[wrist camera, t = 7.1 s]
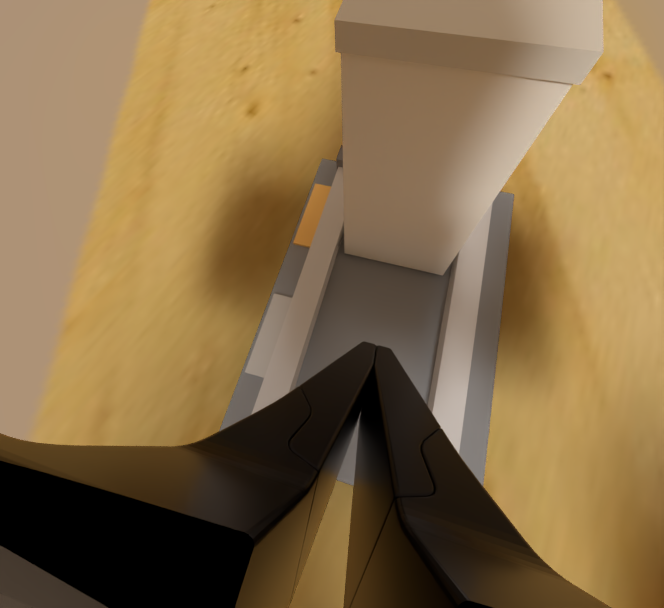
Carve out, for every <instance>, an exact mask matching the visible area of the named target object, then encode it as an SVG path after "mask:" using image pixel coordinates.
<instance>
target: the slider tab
mask: <svg viewBox="0 0 664 608" xmlns="http://www.w3.org/2000/svg"><path fill="white" fill-rule="evenodd" d="M335 50H336V52H339V53H341V80H342V138H343V195H344V253H346V254H350V255H354V256H359V257H363V258H368V259H372V260H376V261H381V262H385V263H390V264H394V265H398V266H403V267H407V268H412V269H416V270H420V271H425V272H429V273H434V274H438V275H442V276H443V274H444V273H445V271H446V270H447V268H448V267H449V265H450V264H451V262H452V261H453V259H454V258H455V257H456V255H457V254H458V252H459V251H460V249H461V248H462V246H463V245H464V243H465V242H466V240H467V239H468V237H469V236H470V234H471V233H472V232H473V230H474V229H475V227H476V226H477V224H478V223H479V221H480V220H481V218H482V217H483V215H484V214H485V212H486V211H487V210H488V208H489V207H490V205H491V204H492V202H493V201H494V199H495V198H496V196H497V195H498V193H499V192H500V190H501V189H502V187H503V186H504V185H505V183H506V182H507V180H508V179H509V177H510V176H511V174H512V173H513V171H514V170H515V168H516V167H517V165H518V164H519V163H520V161H521V160H522V158H523V157H524V155H525V154H526V152H527V151H528V149H529V148H530V146H531V145H532V143H533V142H534V140H535V139H536V138H537V136H538V135H539V133H540V132H541V130H542V129H543V127H544V126H545V124H546V123H547V121H548V120H549V118H550V117H551V116H552V114H553V113H554V111H555V110H556V108H557V107H558V105H559V104H560V102H561V101H562V99H563V98H564V96H565V95H566V93H567V92H568V91H569V89H570V88H571V86H572V85H573V84H577V85H580V84H581V83H582V82H583V80H584V79H585V77H586V76H587V75H588V73H589V72H590V70H591V69H592V67H593V66H594V65H595V63H596V62H597V60H598V59H599V57H600V56H601V55H602V53H603V0H343V2H342V4H341V7H340V9H339V11H338V13H337V16H336V18H335Z"/></svg>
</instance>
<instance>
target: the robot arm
mask: <svg viewBox="0 0 664 608" xmlns="http://www.w3.org/2000/svg"><path fill="white" fill-rule="evenodd" d="M360 412H361V413H360ZM359 416H360V418H359ZM358 419H359V427H358V439H357V451H356V463H355V475H354V487H353V499H352V511H351V523H350V535H349V547H348V559H347V571H346V583H345V595H344V607H343V608H611V607H609V606H608V605H606V604H605V603H603V602H601V601H600V600H598V599H596V598H595V597H593V596H591V595H590V594H588V593H586V592H585V591H583V590H582V589H580V588H578V587H577V586H575V585H573V584H572V583H570V582H569V581H567V580H566V579H564V578H563V577H562V576H561V575H559V574H558V573H557V572H555V571H554V570H553V569H552V568H551V567H550V566H549V565H547V564H546V563H545V562H544V561H543V560H542V559H541V558H540V557H539V556H538V555H537V554H536V553H535V551H534V550H533V549H532V548H531V547H530V546H529V544H528V543H527V542H526V541H525V540H524V538H523V537H522V536H521V534H520V533H519V532H518V531H517V529H516V528H515V527H514V526H513V524H512V523H511V522H510V520H509V519H508V518H507V517H506V515H505V514H504V513H503V511H502V510H501V509H500V508H499V506H498V505H497V504H496V502H495V501H494V500H493V499H492V497H491V496H490V495H489V493H488V492H487V491H486V490H485V488H484V487H483V486H482V484H481V483H480V482H479V481H478V479H477V478H476V477H475V475H474V474H473V473H472V471H471V470H470V469H469V467H468V466H467V465H466V463H465V462H464V461H463V459H462V458H461V456H460V455H459V453H458V452H457V450H456V449H455V447H454V446H453V444H452V443H451V442H450V440H449V438H448V437H447V435H446V434H445V432H444V431H443V429H441V426H440V425H439V423H438V421H437V420H436V418H435V417H434V415H433V414H432V412H431V410H430V409H429V407H428V406H427V404H426V403H425V401H424V400H423V398H422V396H421V395H420V393H419V392H418V390H417V389H416V387H415V385H414V384H413V382H412V381H411V379H410V378H409V376H408V374H407V373H406V371H405V370H404V368H403V367H402V365H401V363H400V362H399V360H398V359H397V357H396V356H395V354H394V352H393V351H392V349H390V348H388V347H384V346H380V345H378V346H377V347H376V345H375V344H373V343H369V342H365V341H363V342H361V343H360V344H358V345H357V346H355V347H354V348H352V349H351V350H350V351H348V352H347V353H345V354H344V355H342V356H341V357H340V358H338V359H337V360H335V361H334V362H332V363H331V364H329V365H328V366H327V367H325V368H324V369H322V370H321V371H319V372H318V373H317V374H315V375H314V376H312V377H311V378H309V379H308V380H307V381H305V382H304V383H302V384H301V385H300V386H298V387H296V388H295V389H293V390H292V391H291V392H289V393H288V394H286V395H285V396H283V397H281V398H280V399H278V400H277V401H275V402H273V403H272V404H270V405H268V406H266V407H265V408H263V409H261V410H259V411H257V412H255V413H254V414H252V415H250V416H248V417H246V418H244V419H242V420H240V421H238V422H236V423H234V424H232V425H230V426H229V427H227V428H225V429H223V430H221V431H219V432H217V433H215V434H213V435H211V436H209V437H207V438H205V439H203V440H200V441H197V442H195V443H191V444H188V445H183V446H172V447H167V446H74V445H55V444H44V443H35V442H30V441H24V440H20V439H16V438H12V437H9V436H6V435H4V434H1V433H0V608H289V605H290V603H291V601H292V598H293V595H294V593H295V590H296V587H297V585H298V582H299V579H300V576H301V574H302V571H303V568H304V566H305V563H306V560H307V558H308V555H309V552H310V549H311V547H312V544H313V541H314V539H315V536H316V533H317V531H318V528H319V525H320V522H321V520H322V517H323V514H324V512H325V509H326V506H327V504H328V501H329V498H330V496H331V493H332V490H333V487H334V485H335V482H336V479H337V477H338V474H339V471H340V469H341V466H342V463H343V460H344V458H345V455H346V452H347V450H348V447H349V444H350V442H351V439H352V436H353V434H354V431H355V428H356V425H357V422H358Z"/></svg>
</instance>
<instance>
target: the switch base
mask: <svg viewBox="0 0 664 608" xmlns="http://www.w3.org/2000/svg"><path fill="white" fill-rule="evenodd" d="M513 200H514V194H510V193H505V192H499V193H498V195H497V196H496V198H495V199H494V201H493V202H492V204H491V205H490V207H489V208H488V210H487V211H486V212H485V214H484V215H483V217H482V218H481V220H480V221H479V223H478V224H477V226H476V227H475V229H474V230H473V232H472V233H471V234H470V236H469V237H468V239H467V240H466V242H465V243H464V245H463V246H462V248H461V249H460V251H459V252H458V254H457V255H456V257H455V258H454V259H453V261H452V262H451V264H450V265H449V267H448V268H447V270H446V271H445V273H444V274H443V276H442V275H438V274H434V273H429V272H425V271H420V270H416V269H412V268H407V267H403V266H398V265H394V264H390V263H385V262H381V261H376V260H372V259H368V258H363V257H359V256H354V255H350V254H346V253H344V195H343V145H341V148H340V150H339V153H338V156H337V159H336V161H332V160H327V159H322V160H321V163H320V166H319V168H318V171H317V174H316V176H315V179H314V182H313V184H312V187H311V189H310V192H309V195H308V197H307V200H306V203H305V205H304V208H303V211H302V213H301V216H300V219H299V221H298V224H297V227H296V229H295V232H294V234H293V237H292V240H291V242H290V245H289V248H288V250H287V253H286V256H285V258H284V261H283V264H282V266H281V269H280V272H279V274H278V277H277V279H276V282H275V285H274V287H273V290H272V293H271V295H270V298H269V301H268V303H267V306H266V309H265V311H264V314H263V316H262V319H261V322H260V324H259V327H258V330H257V332H256V335H255V338H254V340H253V343H252V346H251V348H250V351H249V354H248V356H247V359H246V361H245V364H244V367H243V369H242V372H241V375H240V377H239V380H238V383H237V385H236V388H235V391H234V393H233V396H232V399H231V401H230V404H229V406H228V409H227V412H226V414H225V417H224V420H223V422H222V425H221V428H220V430H219V431H221V430H223V429H225V428H227V427H229V426H230V425H232V424H234V423H236V422H238V421H240V420H242V419H244V418H246V417H248V416H250V415H252V414H254V413H255V412H257V411H259V410H261V409H263V408H265V407H266V406H268V405H270V404H272V403H273V402H275V401H277V400H278V399H280V398H281V397H283V396H285V395H286V394H288V393H289V392H291V391H292V390H293V389H295V388H296V387H298V386H300V385H301V384H302V383H304V382H305V381H307V380H308V379H309V378H311V377H312V376H314V375H315V374H317V373H318V372H319V371H321V370H322V369H324V368H325V367H327V366H328V365H329V364H331V363H332V362H334V361H335V360H337V359H338V358H340V357H341V356H342V355H344V354H345V353H347V352H348V351H350V350H351V349H352V348H354V347H355V346H357V345H358V344H360V343H361V342H363V341H365V342H369V343H373V344H375V345H376V347H377V346H378V345H380V346H384V347H388V348H390V349H392V351H393V352H394V354H395V356H396V357H397V359H398V360H399V362H400V363H401V365H402V367H403V368H404V370H405V371H406V373H407V374H408V376H409V378H410V379H411V381H412V382H413V384H414V385H415V387H416V389H417V390H418V392H419V393H420V395H421V396H422V398H423V400H424V401H425V403H426V404H427V406H428V407H429V409H430V410H431V412H432V414H433V415H434V417H435V418H436V420H437V421H438V423H439V425H440V426H441V429H443V431H444V432H445V434H446V435H447V437H448V438H449V440H450V442H451V443H452V444H453V446H454V447H455V449H456V450H457V452H458V453H459V455H460V456H461V458H462V459H463V461H464V462H465V463H466V465H467V466H468V467H469V469H470V470H471V471H472V473H473V474H474V475H475V477H476V478H477V479H478V481H479V482H480V483H481V484H482V486H483V482H484V473H485V463H486V454H487V444H488V435H489V426H490V416H491V407H492V397H493V388H494V379H495V369H496V360H497V351H498V341H499V332H500V322H501V313H502V304H503V294H504V285H505V275H506V266H507V257H508V247H509V238H510V229H511V219H512V210H513ZM360 413H361V412H360ZM359 418H360V416H359ZM358 427H359V419H358V422H357V425H356V428H355V431H354V434H353V436H352V439H351V442H350V444H349V447H348V450H347V452H346V455H345V458H344V460H343V463H342V466H341V469H340V471H339V474H338V477H337V479H336V480H338V481H341V482H344V483H347V484H350V485H353V486H354V475H355V463H356V451H357V439H358Z"/></svg>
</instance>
